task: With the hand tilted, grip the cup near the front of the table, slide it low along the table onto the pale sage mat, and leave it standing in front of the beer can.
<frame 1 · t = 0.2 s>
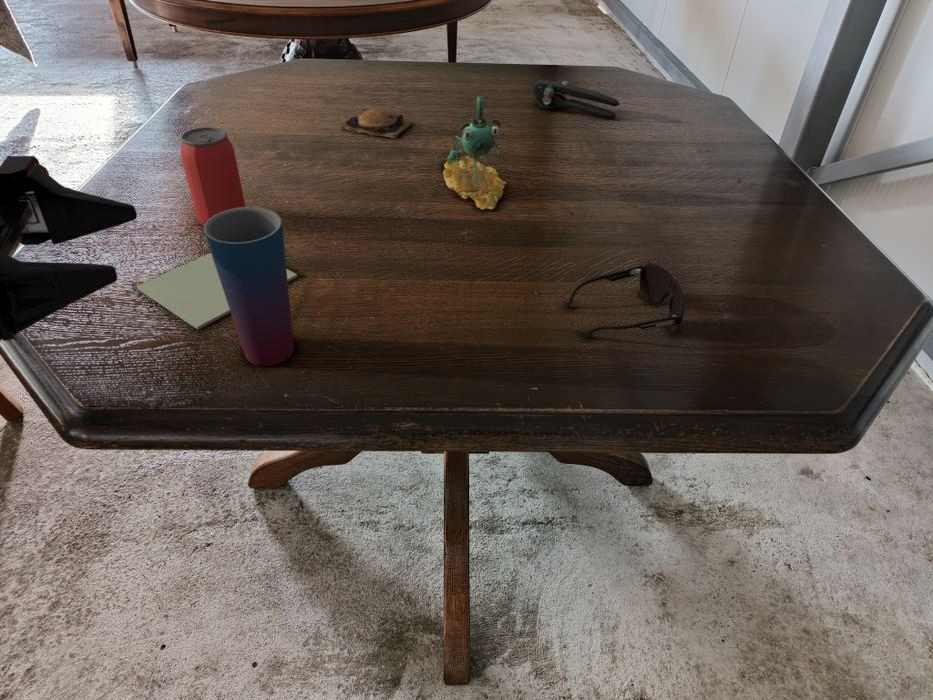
hand: (126, 240, 47), 18 cm above the table, tool horizontal, fingers open, 9 cm apart
frog figurine: (473, 185, 99), on the table
bread roll: (378, 128, 116), on the table
sunglasses: (621, 318, 74), on the table
beer can: (223, 221, 87), on the table
can opener: (572, 112, 127), on the table
cup: (269, 352, 66), on the table
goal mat: (219, 282, 76), on the table
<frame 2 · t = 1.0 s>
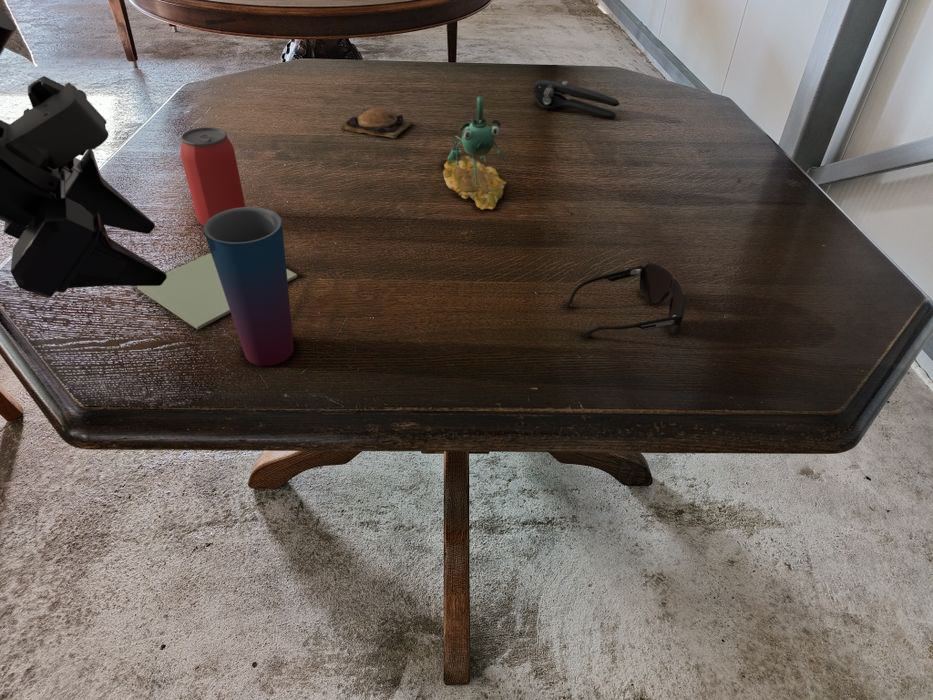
hand: (157, 253, 55), 14 cm above the table, tool tilted 45°, fingers open, 9 cm apart
nothing on the table moved.
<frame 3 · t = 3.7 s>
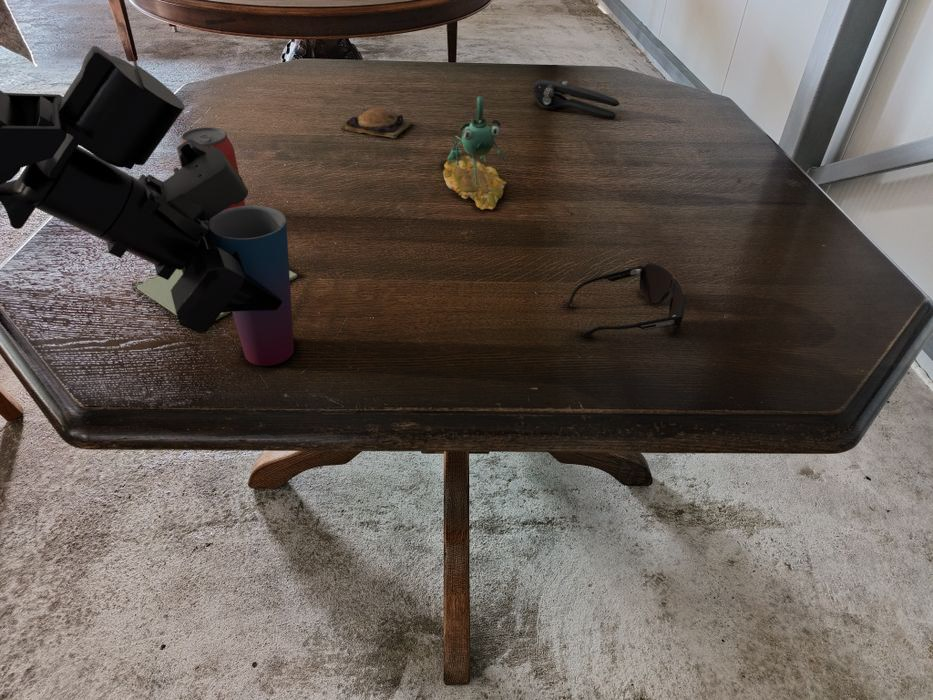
hand: (271, 288, 62), 8 cm above the table, tool tilted 45°, fingers closed on cup, 6 cm apart
cup: (269, 352, 66), on the table, touching gripper
everything else where it was.
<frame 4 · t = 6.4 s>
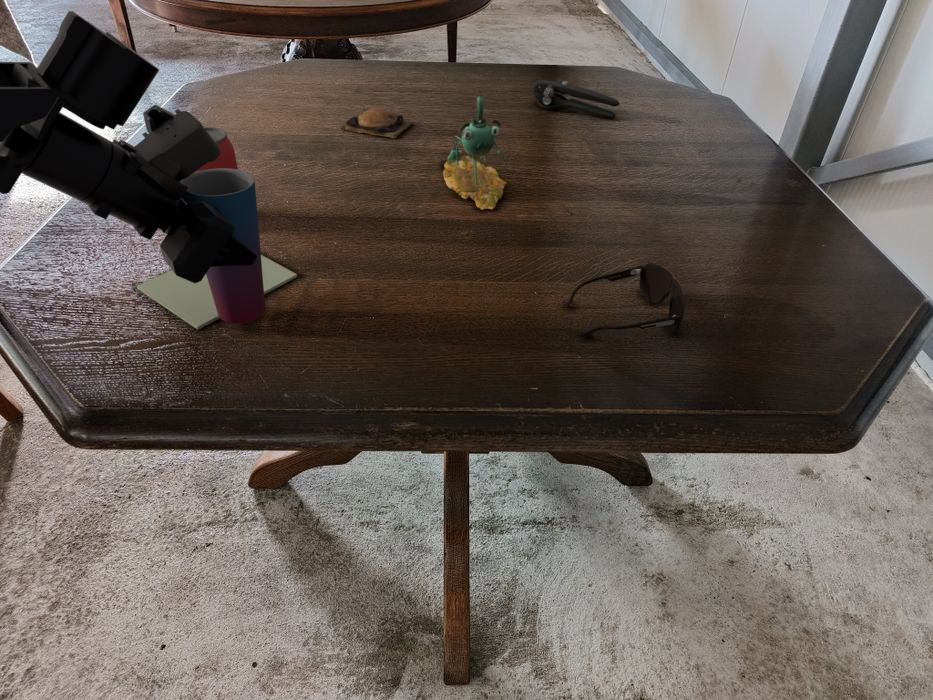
hand: (241, 247, 65), 9 cm above the table, tool tilted 45°, fingers closed on cup, 6 cm apart
cup: (242, 312, 70), point 1 cm above the table, touching gripper
everything else where it was.
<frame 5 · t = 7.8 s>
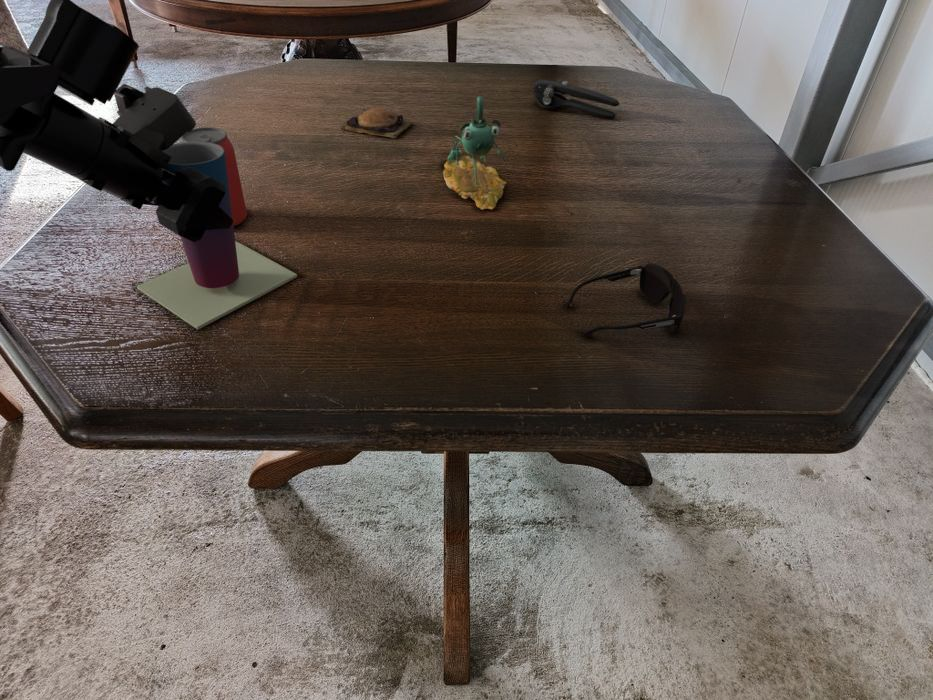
hand: (213, 215, 70), 9 cm above the table, tool tilted 45°, fingers closed on cup, 6 cm apart
cup: (217, 278, 74), point 1 cm above the table, touching gripper
everything else where it was.
when the fingers open (8 cm above the table, at t = 8.9 s): cup stays where it is, resting on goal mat.
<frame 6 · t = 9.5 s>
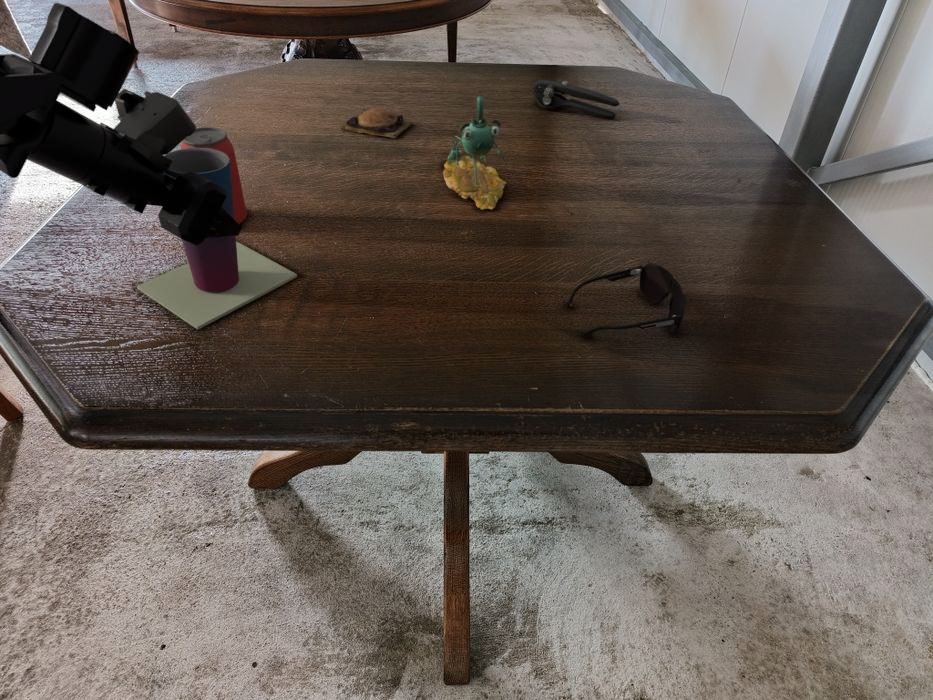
hand: (214, 217, 71), 8 cm above the table, tool tilted 45°, fingers open, 9 cm apart
cup: (217, 282, 75), resting on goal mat, touching gripper
everything else where it was.
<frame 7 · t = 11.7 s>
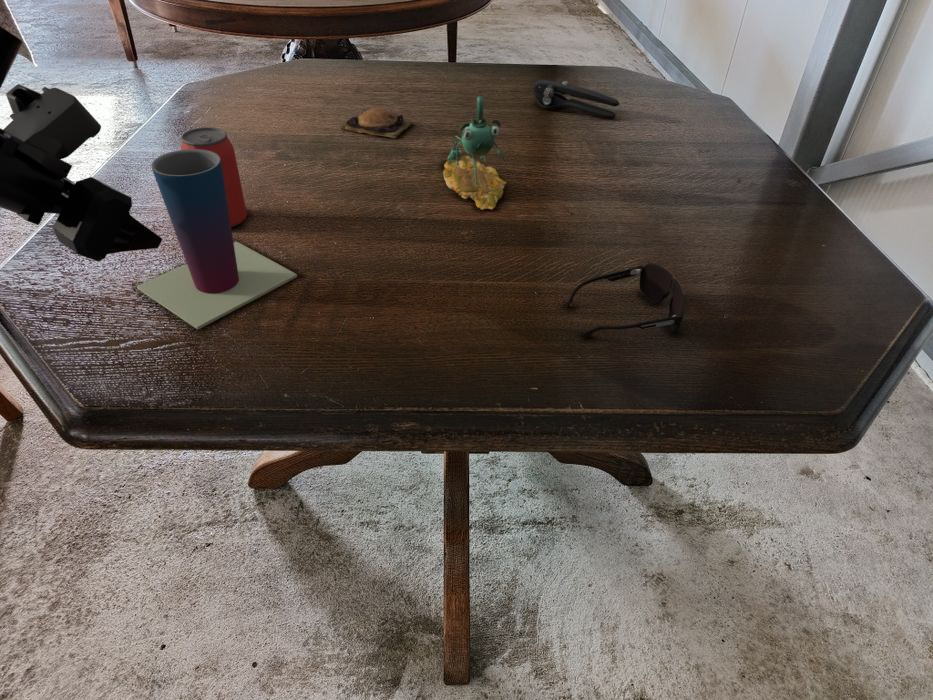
hand: (134, 227, 64), 11 cm above the table, tool tilted 45°, fingers open, 9 cm apart
cup: (217, 283, 75), resting on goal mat
everything else where it was.
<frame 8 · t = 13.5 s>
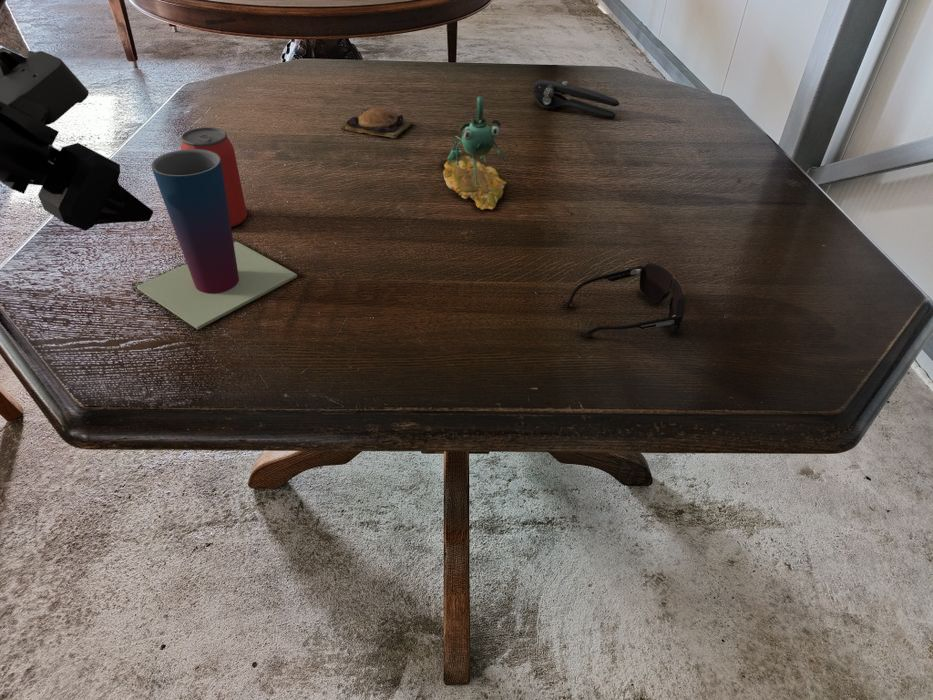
hand: (124, 201, 62), 14 cm above the table, tool tilted 45°, fingers open, 9 cm apart
nothing on the table moved.
at the end: cup inside the target area on the table beside the beer can (0.4 cm from its centre), resting on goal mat; cup tilted 0°; beer can moved 0.2 cm from its start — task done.
